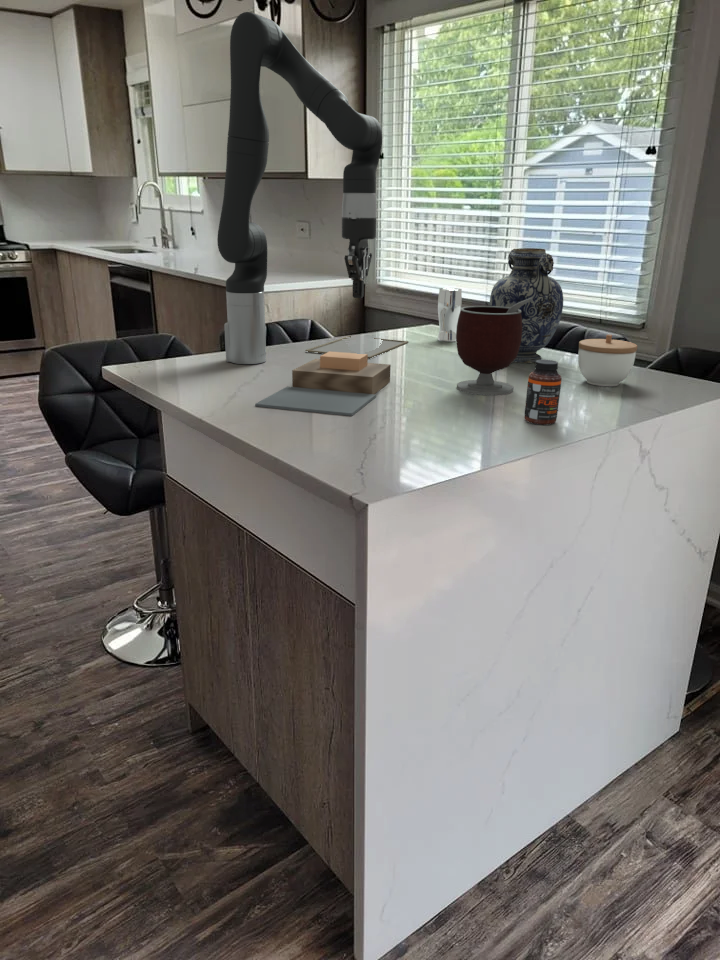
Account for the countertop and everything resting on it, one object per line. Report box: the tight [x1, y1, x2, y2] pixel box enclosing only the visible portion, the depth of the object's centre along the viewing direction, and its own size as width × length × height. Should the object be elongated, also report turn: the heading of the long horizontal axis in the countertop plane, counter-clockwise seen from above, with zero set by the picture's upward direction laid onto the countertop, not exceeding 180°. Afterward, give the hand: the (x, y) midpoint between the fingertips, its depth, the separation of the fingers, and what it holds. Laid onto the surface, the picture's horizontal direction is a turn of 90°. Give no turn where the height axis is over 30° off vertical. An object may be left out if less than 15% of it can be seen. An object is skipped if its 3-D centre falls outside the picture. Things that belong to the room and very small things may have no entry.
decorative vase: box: [489, 247, 564, 364], centre depth 189 cm, size 21×19×28 cm
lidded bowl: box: [577, 334, 638, 387], centre depth 166 cm, size 13×13×11 cm
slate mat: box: [254, 385, 377, 417], centre depth 147 cm, size 20×16×1 cm
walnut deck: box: [291, 358, 391, 394], centre depth 161 cm, size 18×14×4 cm
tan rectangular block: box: [319, 351, 369, 371], centre depth 161 cm, size 9×6×2 cm, turn 72°
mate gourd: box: [455, 298, 533, 396], centre depth 157 cm, size 16×14×20 cm
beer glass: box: [437, 287, 463, 343], centre depth 217 cm, size 7×7×15 cm
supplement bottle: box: [523, 359, 562, 426], centre depth 134 cm, size 6×6×11 cm
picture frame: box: [304, 335, 409, 359], centre depth 206 cm, size 19×1×28 cm
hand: (358, 297), depth 165 cm, fingers closed
